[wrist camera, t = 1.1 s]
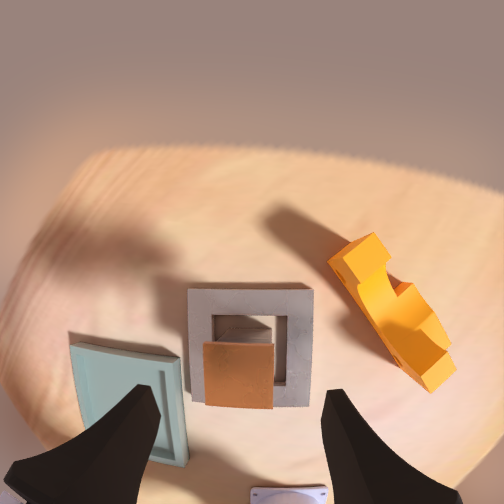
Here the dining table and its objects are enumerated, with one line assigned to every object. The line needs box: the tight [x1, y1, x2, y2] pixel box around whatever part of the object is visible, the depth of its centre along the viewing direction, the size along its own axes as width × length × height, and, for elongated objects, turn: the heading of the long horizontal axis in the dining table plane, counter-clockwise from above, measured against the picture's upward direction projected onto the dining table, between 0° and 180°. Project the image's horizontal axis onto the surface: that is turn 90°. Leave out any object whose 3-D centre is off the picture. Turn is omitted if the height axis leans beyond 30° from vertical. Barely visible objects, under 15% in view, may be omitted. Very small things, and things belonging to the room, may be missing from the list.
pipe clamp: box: [327, 232, 457, 394], centre depth 19 cm, size 12×4×6 cm, turn 37°
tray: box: [70, 342, 190, 468], centre depth 23 cm, size 12×12×2 cm
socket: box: [187, 288, 314, 407], centre depth 22 cm, size 10×10×1 cm
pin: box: [203, 328, 274, 409], centre depth 19 cm, size 4×4×7 cm
